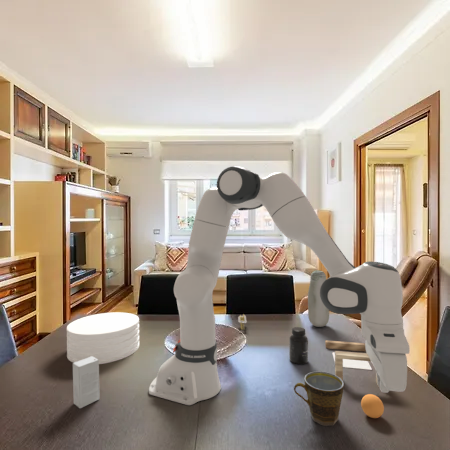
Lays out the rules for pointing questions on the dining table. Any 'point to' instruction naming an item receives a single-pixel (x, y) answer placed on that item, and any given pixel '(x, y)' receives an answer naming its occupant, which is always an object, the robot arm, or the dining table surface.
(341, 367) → the bridge
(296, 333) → the supplement bottle
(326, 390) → the ceramic cup
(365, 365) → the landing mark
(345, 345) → the rail
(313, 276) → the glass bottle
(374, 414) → the ball
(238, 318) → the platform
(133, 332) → the plate stack
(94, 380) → the skincare box
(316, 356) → the dining table surface
